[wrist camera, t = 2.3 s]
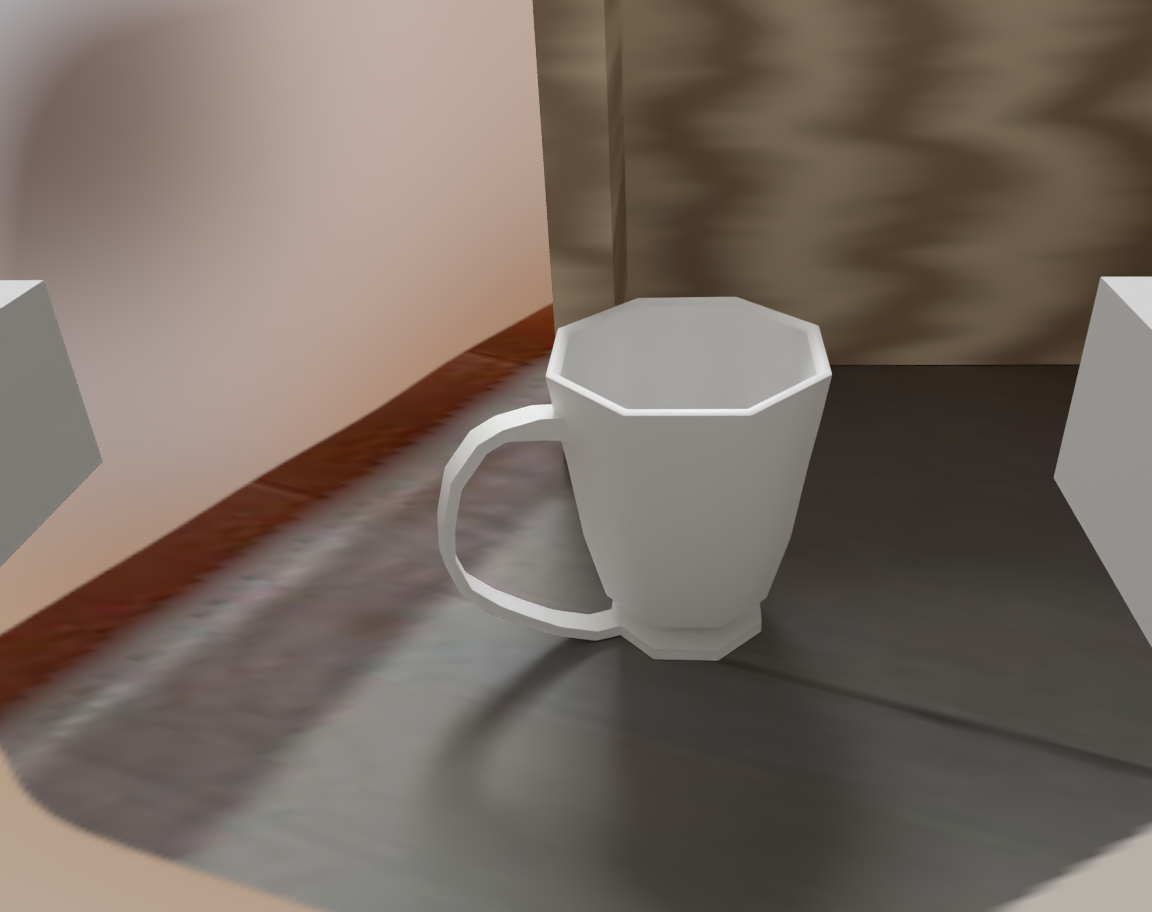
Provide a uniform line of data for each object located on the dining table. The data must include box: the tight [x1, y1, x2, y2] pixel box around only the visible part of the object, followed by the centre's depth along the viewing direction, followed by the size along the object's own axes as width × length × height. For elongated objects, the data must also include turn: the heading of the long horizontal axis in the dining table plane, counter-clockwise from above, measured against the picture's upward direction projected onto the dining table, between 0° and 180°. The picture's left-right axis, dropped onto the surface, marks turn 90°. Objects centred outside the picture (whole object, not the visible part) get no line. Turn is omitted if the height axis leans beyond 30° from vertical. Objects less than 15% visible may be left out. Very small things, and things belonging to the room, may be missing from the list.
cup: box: [437, 297, 832, 661], centre depth 26 cm, size 7×10×8 cm
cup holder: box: [533, 0, 1152, 453], centre depth 34 cm, size 24×9×19 cm, turn 84°
